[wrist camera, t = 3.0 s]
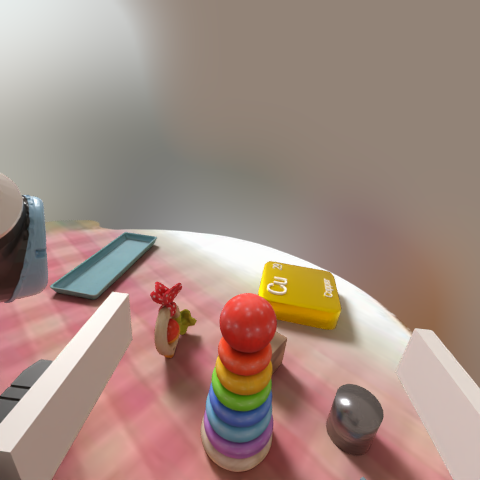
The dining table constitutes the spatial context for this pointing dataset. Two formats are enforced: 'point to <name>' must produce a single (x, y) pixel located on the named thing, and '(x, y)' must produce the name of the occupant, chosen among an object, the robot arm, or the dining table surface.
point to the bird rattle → (169, 319)
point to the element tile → (301, 294)
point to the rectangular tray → (104, 266)
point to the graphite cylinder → (354, 419)
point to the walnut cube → (277, 350)
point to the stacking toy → (241, 386)
